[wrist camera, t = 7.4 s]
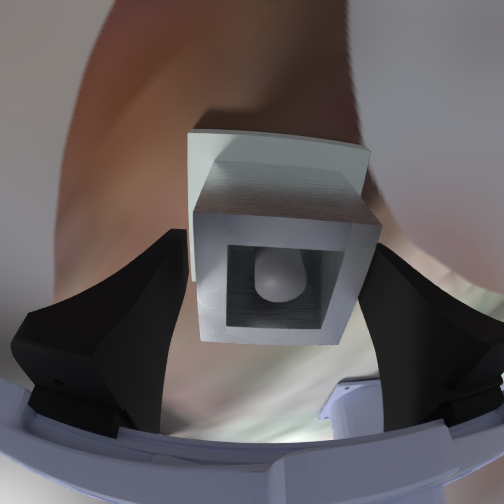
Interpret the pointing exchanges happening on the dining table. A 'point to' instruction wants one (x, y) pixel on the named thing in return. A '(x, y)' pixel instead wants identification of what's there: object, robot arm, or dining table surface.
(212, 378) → the dining table surface
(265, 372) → the dining table surface
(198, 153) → the post stand
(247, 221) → the steel collar
